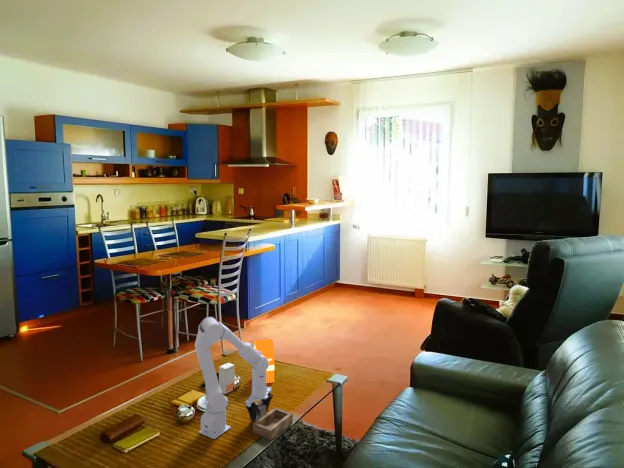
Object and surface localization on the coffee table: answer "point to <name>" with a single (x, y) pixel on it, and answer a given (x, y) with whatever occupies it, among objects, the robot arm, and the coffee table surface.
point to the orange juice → (267, 356)
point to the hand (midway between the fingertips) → (259, 415)
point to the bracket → (260, 410)
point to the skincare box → (227, 377)
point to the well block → (272, 423)
